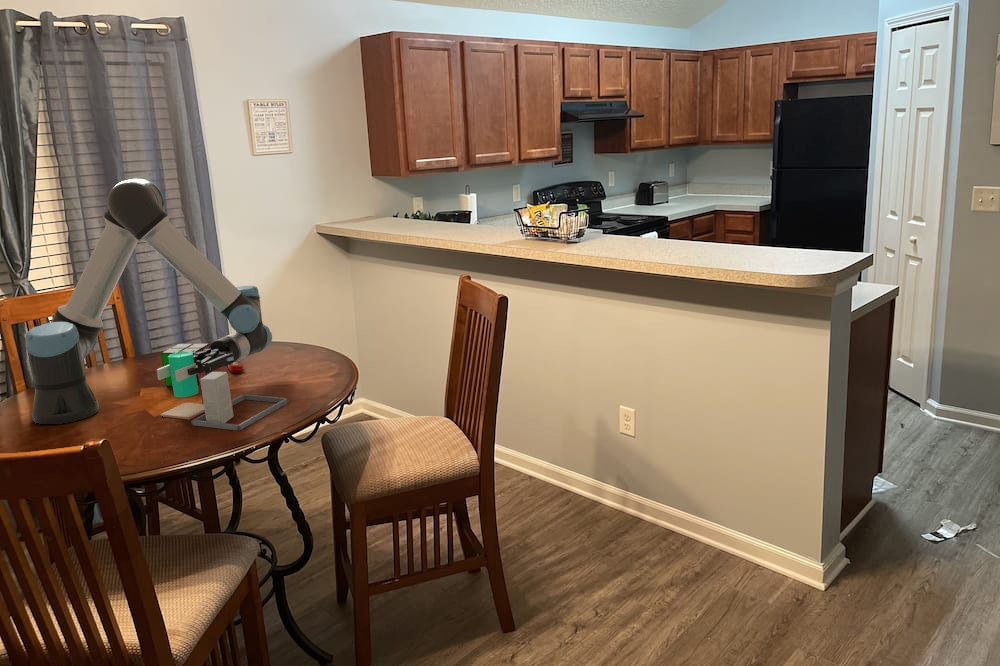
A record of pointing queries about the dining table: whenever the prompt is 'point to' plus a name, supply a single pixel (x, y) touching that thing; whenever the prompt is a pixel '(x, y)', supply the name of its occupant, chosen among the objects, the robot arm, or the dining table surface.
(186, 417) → the coaster
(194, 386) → the candle
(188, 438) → the dining table surface
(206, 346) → the puzzle cube
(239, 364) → the candy bar
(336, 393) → the dining table surface
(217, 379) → the skincare box
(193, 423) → the grey rectangular frame
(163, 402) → the dining table surface
